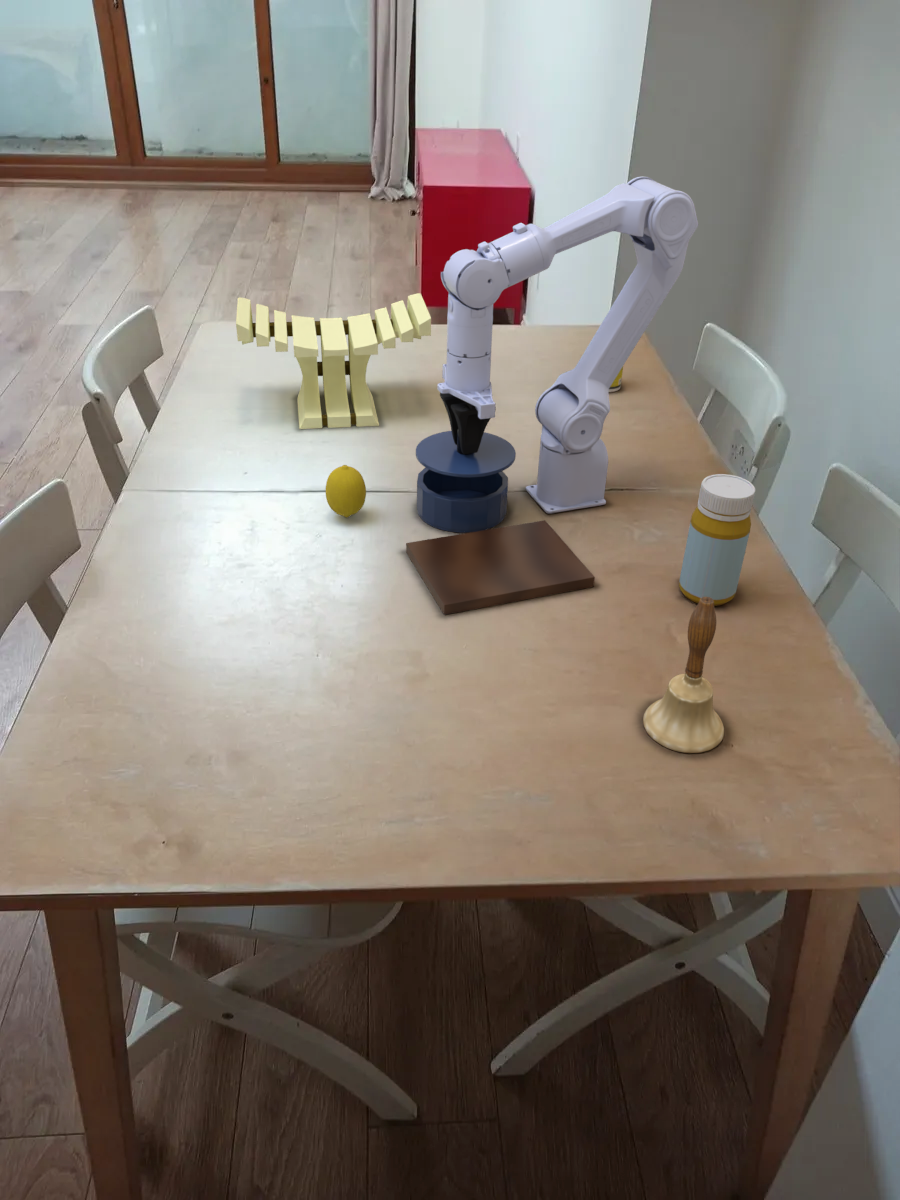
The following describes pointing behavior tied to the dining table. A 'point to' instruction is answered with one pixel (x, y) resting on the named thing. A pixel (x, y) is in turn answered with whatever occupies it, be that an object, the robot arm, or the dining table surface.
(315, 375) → the slatted curved stool
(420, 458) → the lid
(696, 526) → the bottle
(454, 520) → the tin
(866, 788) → the dining table surface
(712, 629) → the hand bell
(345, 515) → the lemon
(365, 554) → the dining table surface
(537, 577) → the board
